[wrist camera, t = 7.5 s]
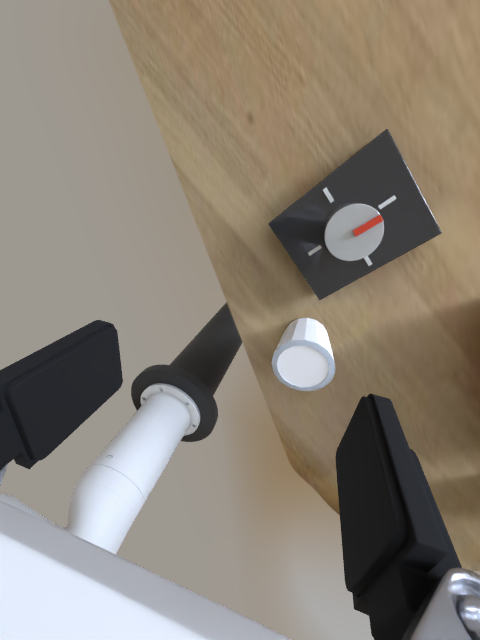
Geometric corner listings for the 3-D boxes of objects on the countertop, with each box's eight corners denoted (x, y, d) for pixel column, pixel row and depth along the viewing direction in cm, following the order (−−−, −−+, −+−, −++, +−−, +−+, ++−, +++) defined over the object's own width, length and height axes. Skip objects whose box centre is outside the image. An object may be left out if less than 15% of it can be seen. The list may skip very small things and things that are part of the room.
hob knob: (337, 259, 25) (340, 271, 21) (315, 221, 24) (314, 226, 20) (382, 234, 23) (395, 242, 19) (360, 192, 22) (369, 190, 18)
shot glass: (336, 315, 31) (339, 344, 25) (329, 361, 34) (331, 396, 28) (280, 311, 33) (271, 336, 27) (279, 355, 36) (270, 386, 30)
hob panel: (319, 291, 30) (319, 300, 27) (272, 221, 28) (267, 223, 26) (429, 229, 24) (443, 233, 22) (380, 136, 23) (388, 127, 20)
